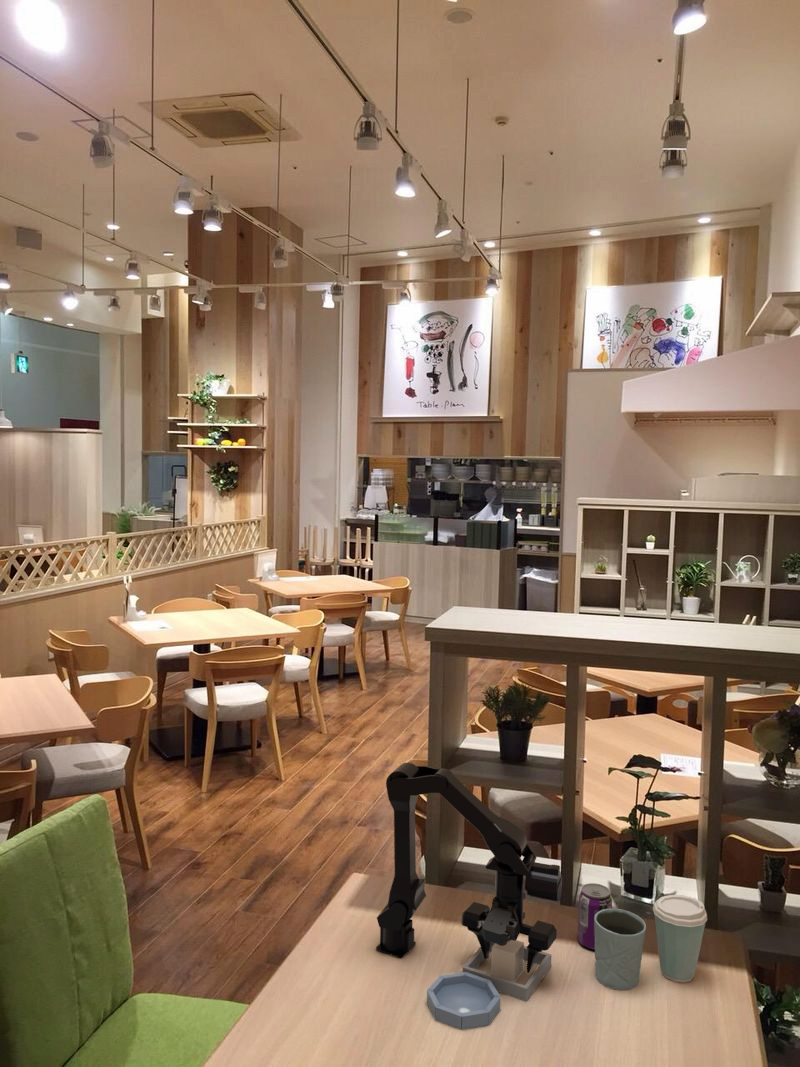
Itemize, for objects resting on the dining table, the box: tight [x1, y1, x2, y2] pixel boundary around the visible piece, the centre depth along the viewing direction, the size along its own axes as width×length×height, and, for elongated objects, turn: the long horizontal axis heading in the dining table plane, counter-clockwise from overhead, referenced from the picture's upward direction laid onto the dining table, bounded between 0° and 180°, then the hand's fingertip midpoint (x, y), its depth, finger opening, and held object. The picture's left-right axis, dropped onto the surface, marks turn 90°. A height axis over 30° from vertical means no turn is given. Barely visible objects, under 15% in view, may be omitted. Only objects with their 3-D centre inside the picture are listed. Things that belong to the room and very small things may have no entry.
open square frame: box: [461, 942, 552, 1002], centre depth 172 cm, size 14×14×2 cm
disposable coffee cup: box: [652, 894, 708, 984], centre depth 172 cm, size 11×11×15 cm
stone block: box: [490, 939, 525, 983], centre depth 171 cm, size 5×5×6 cm
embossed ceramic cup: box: [594, 908, 647, 991], centre depth 170 cm, size 10×10×12 cm
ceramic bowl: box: [426, 971, 502, 1031], centre depth 161 cm, size 13×13×2 cm
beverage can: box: [577, 882, 613, 950], centre depth 183 cm, size 7×7×12 cm
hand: (507, 965), depth 172 cm, fingers open, 9 cm apart
